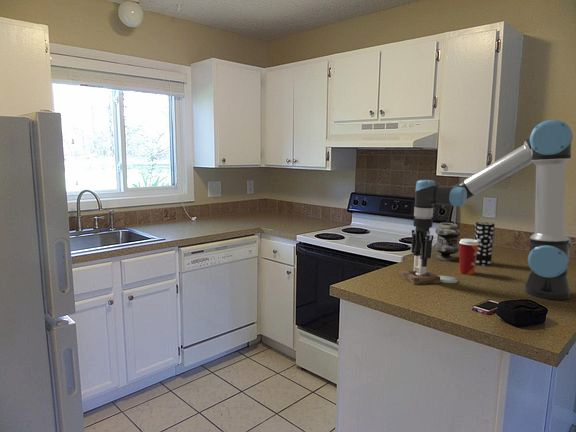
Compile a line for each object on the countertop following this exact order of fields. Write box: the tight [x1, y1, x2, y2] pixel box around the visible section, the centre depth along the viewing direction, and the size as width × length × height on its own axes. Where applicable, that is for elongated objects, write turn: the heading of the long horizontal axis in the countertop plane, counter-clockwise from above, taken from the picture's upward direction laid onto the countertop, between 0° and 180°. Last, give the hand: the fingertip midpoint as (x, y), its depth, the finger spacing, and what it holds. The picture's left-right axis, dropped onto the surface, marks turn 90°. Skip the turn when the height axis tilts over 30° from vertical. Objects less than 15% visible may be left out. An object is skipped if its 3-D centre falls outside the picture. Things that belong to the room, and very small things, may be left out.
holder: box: [399, 269, 441, 285], centre depth 176 cm, size 12×12×2 cm
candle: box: [415, 255, 423, 276], centre depth 175 cm, size 5×5×10 cm
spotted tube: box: [473, 221, 496, 267], centre depth 202 cm, size 8×8×20 cm
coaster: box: [438, 275, 459, 284], centre depth 176 cm, size 9×9×1 cm
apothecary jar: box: [433, 222, 461, 262], centre depth 211 cm, size 12×12×18 cm
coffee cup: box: [458, 238, 479, 275], centre depth 186 cm, size 8×8×15 cm
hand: (419, 271), depth 176 cm, fingers closed on candle, 4 cm apart
